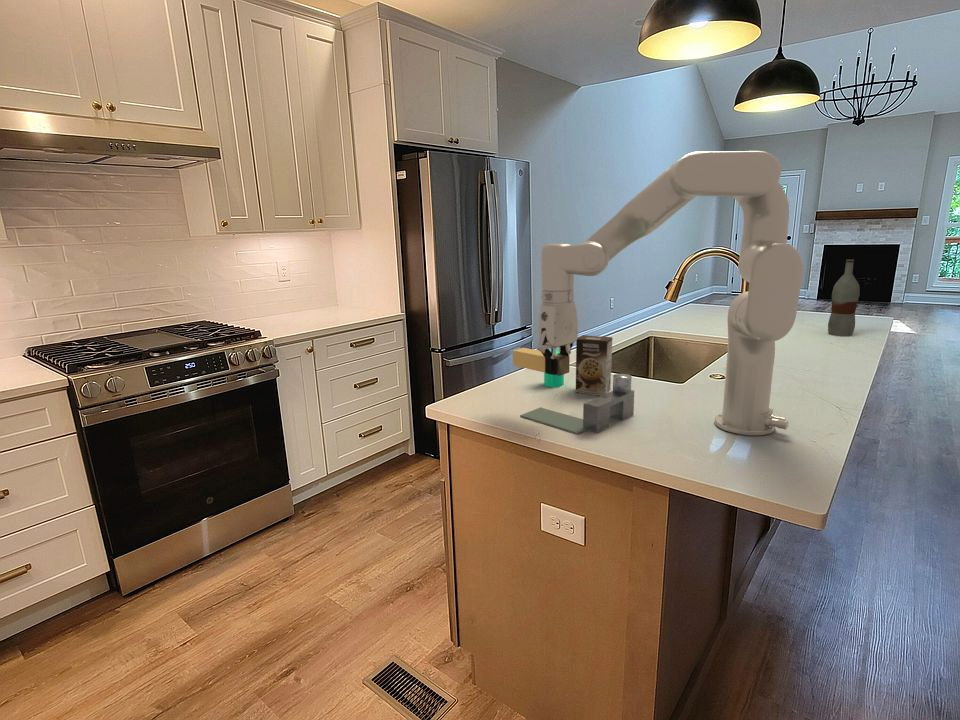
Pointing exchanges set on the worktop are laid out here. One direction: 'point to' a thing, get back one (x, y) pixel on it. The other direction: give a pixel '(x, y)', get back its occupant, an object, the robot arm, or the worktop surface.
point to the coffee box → (593, 364)
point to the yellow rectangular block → (538, 361)
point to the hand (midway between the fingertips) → (557, 371)
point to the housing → (610, 405)
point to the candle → (553, 379)
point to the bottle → (844, 303)
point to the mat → (556, 420)
